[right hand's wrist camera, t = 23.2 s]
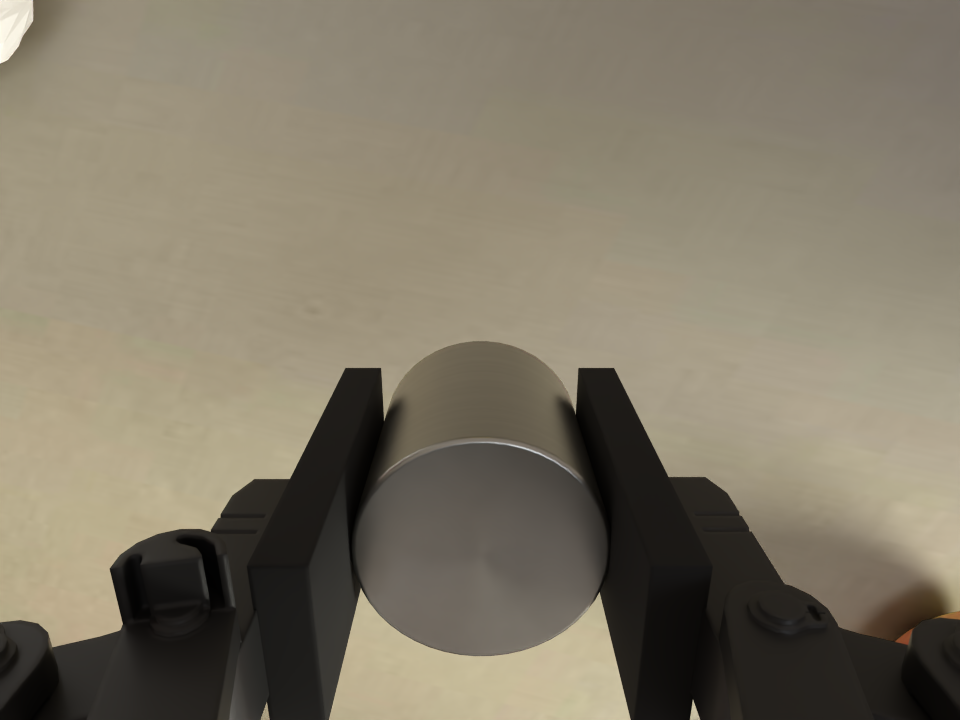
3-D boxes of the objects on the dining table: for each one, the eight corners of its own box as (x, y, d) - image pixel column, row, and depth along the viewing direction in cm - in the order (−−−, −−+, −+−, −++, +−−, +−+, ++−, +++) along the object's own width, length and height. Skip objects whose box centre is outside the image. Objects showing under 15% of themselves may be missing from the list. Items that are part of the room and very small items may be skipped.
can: (352, 453, 15) (303, 588, 11) (451, 303, 14) (439, 388, 10) (506, 538, 16) (516, 694, 12) (613, 403, 15) (666, 522, 11)
